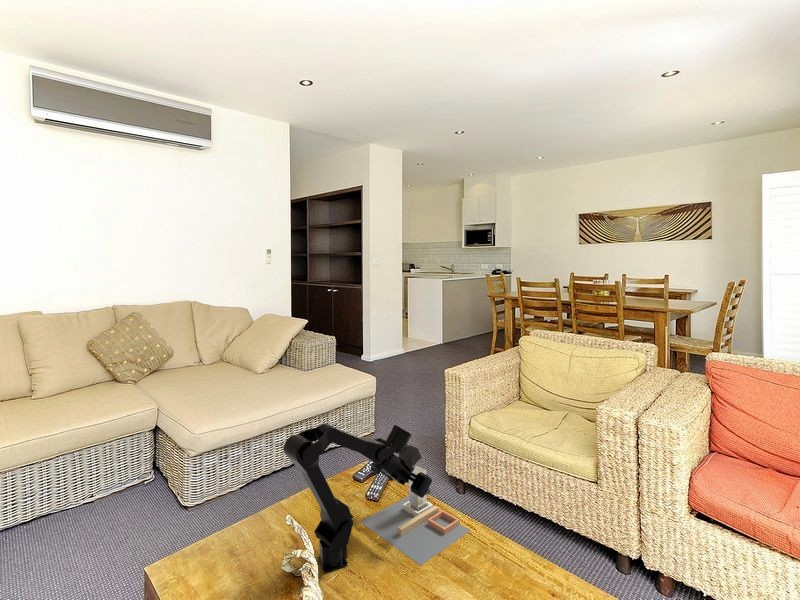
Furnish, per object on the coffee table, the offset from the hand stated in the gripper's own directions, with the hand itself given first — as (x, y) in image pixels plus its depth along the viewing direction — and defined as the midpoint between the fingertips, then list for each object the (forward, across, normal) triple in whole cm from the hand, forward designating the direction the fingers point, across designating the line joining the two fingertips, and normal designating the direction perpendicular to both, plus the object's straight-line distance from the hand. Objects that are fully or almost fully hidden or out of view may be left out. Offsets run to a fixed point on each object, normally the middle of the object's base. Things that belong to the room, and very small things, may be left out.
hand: (419, 486), depth 139 cm
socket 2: (+5, -11, +5) cm, 13 cm away
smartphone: (-2, +15, +15) cm, 22 cm away
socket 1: (+4, 0, +6) cm, 7 cm away
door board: (+1, -6, +12) cm, 13 cm away
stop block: (+4, 0, +6) cm, 7 cm away
